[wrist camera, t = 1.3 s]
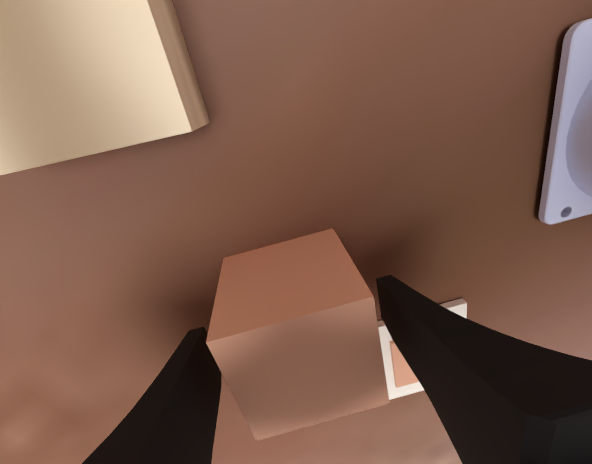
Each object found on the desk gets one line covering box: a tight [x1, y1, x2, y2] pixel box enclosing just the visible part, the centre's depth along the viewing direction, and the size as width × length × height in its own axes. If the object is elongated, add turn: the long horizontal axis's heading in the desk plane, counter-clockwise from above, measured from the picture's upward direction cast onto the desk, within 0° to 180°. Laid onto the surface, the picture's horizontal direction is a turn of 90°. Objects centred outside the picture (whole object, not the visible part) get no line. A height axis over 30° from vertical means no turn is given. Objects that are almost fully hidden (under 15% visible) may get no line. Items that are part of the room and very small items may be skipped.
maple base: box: [0, 0, 210, 175], centre depth 8 cm, size 6×6×4 cm
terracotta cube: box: [206, 228, 390, 441], centre depth 12 cm, size 5×5×5 cm
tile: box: [377, 298, 467, 400], centre depth 16 cm, size 5×6×1 cm
